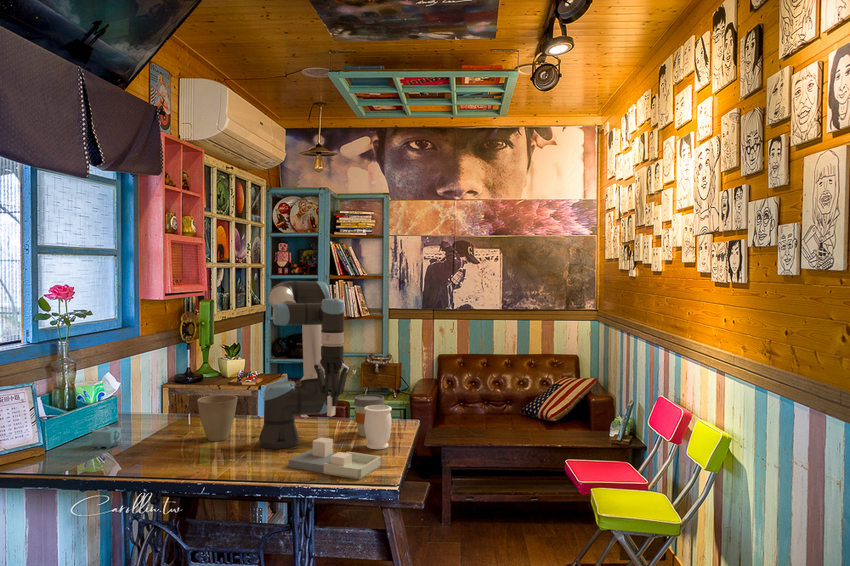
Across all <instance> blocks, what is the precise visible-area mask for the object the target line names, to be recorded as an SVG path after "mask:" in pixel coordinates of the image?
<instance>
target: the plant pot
mask: <svg viewBox="0 0 850 566" xmlns="http://www.w3.org/2000/svg"><path fill="white" fill-rule="evenodd" d="M237 403H238V396H236V395H232V394H215V395H206V396H202V397H200V398H197V407H198V414H199V417H200V421H201V425H202V427H203V430H204V431H203V432H204V433H205V436H206V438H207V441H210V442H221V441H225V440H227V439H228V437H229V435H230V433H231V429H232V426H233V423H234V419H235V415H236V409H237Z"/></svg>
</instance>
